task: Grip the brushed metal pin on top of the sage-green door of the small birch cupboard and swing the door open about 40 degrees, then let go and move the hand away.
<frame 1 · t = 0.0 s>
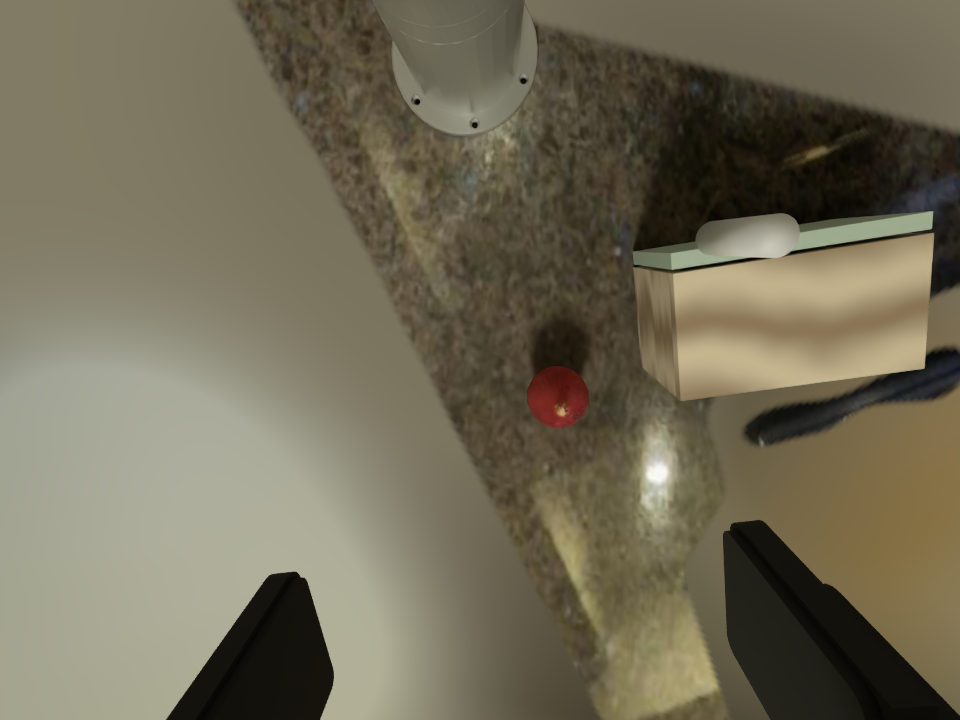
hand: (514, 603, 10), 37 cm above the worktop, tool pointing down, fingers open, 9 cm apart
onion: (553, 384, 47), on the worktop
cupboard door: (790, 229, 33), point 9 cm above the worktop, hinge at 0.0°
cupboard: (731, 304, 44), on the worktop
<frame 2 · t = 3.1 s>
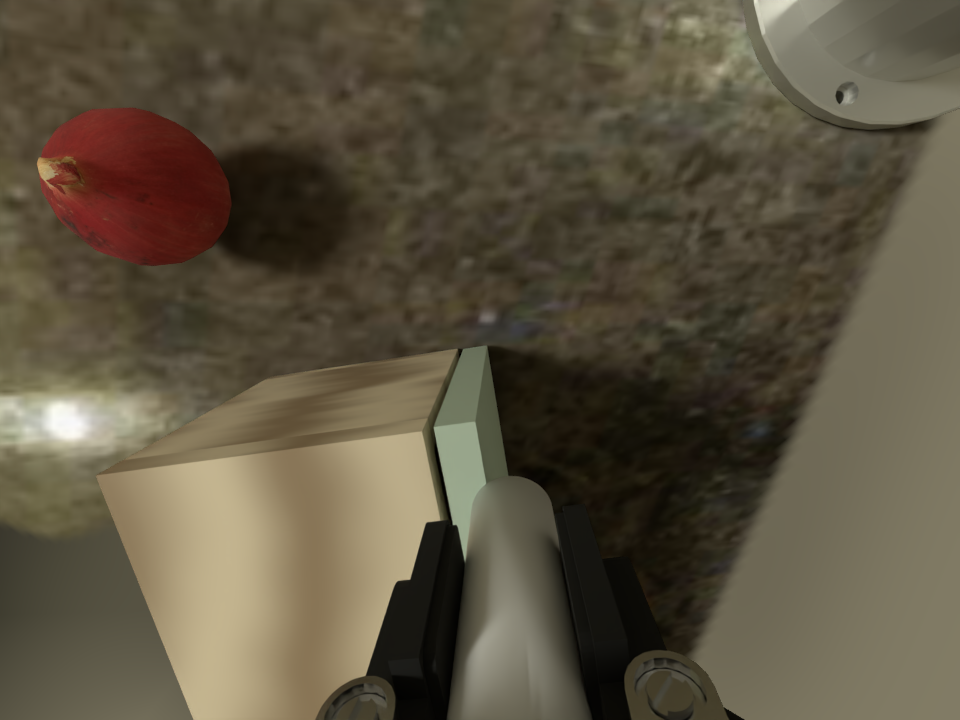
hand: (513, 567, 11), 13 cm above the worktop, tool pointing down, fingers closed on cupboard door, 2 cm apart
onion: (208, 200, 22), on the worktop
cupboard door: (527, 648, 16), point 9 cm above the worktop, hinge at 0.0°, touching gripper
cupboard: (398, 516, 25), on the worktop
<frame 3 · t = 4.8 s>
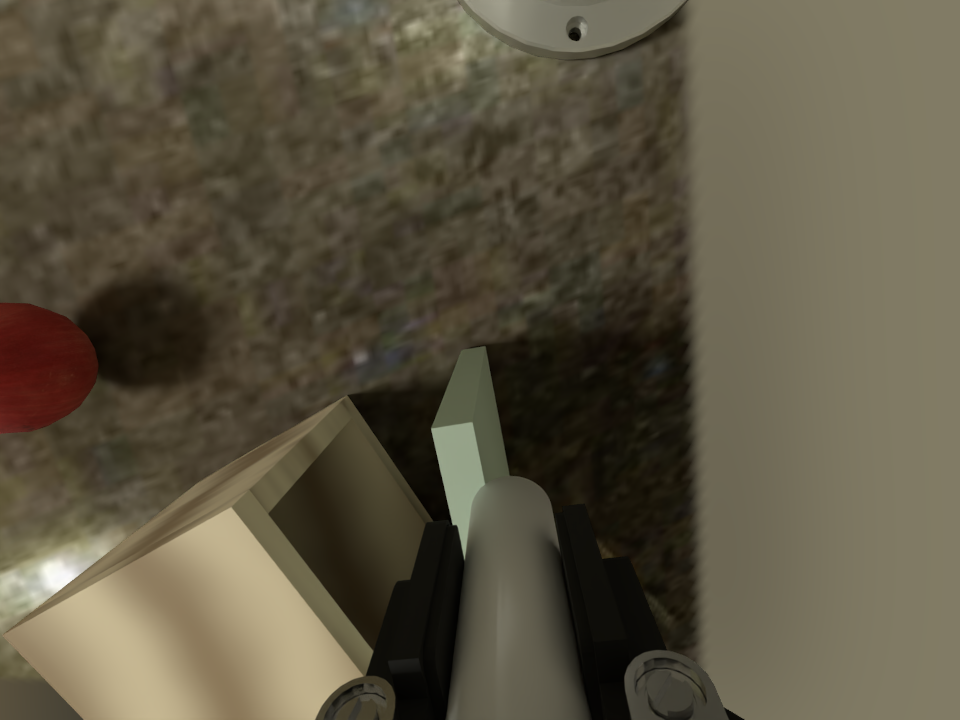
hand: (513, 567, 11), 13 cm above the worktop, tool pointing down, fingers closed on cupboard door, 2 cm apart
onion: (89, 348, 24), on the worktop
cupboard door: (531, 648, 16), point 9 cm above the worktop, hinge at 20.1°, touching gripper
cupboard: (364, 564, 26), on the worktop
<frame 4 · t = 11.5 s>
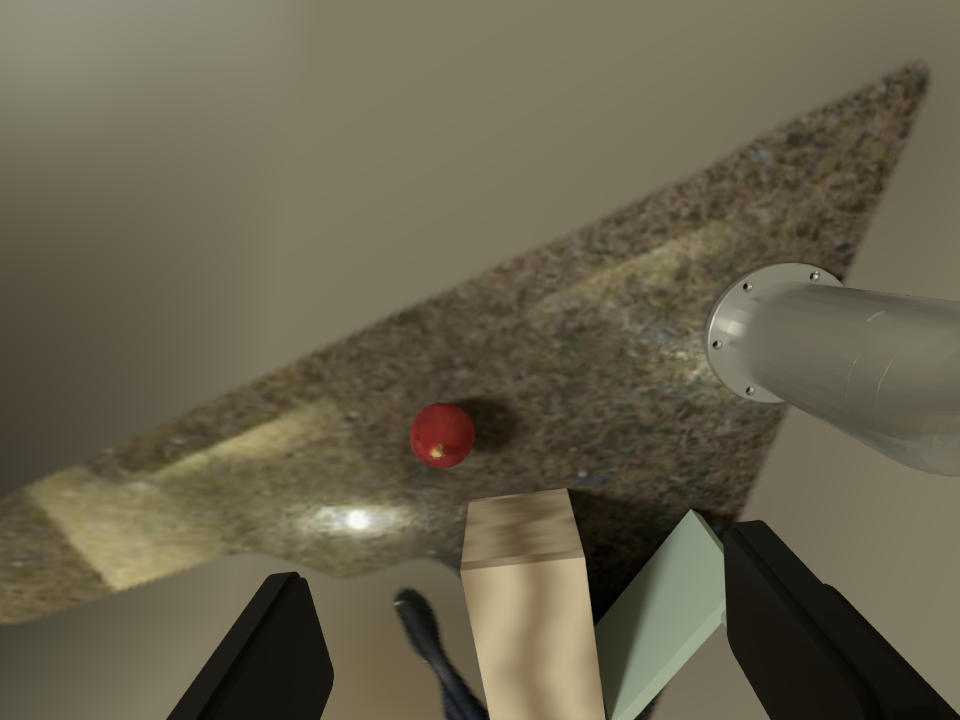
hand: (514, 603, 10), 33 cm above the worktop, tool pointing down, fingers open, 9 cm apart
onion: (447, 419, 45), on the worktop
cupboard door: (682, 654, 39), point 9 cm above the worktop, hinge at 39.8°
cupboard: (529, 569, 48), on the worktop
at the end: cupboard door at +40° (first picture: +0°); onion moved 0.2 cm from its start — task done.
